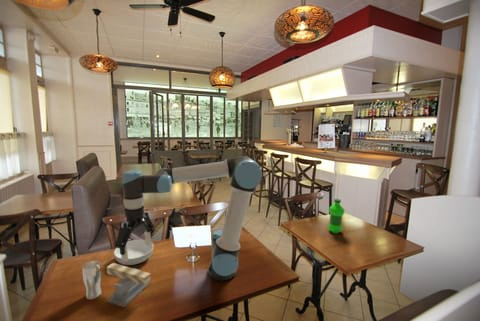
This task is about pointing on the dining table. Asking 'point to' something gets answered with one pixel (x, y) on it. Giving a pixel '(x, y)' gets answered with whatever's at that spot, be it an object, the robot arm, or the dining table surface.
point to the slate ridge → (125, 291)
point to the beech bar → (129, 273)
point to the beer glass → (92, 279)
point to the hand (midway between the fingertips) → (137, 252)
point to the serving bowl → (135, 252)
